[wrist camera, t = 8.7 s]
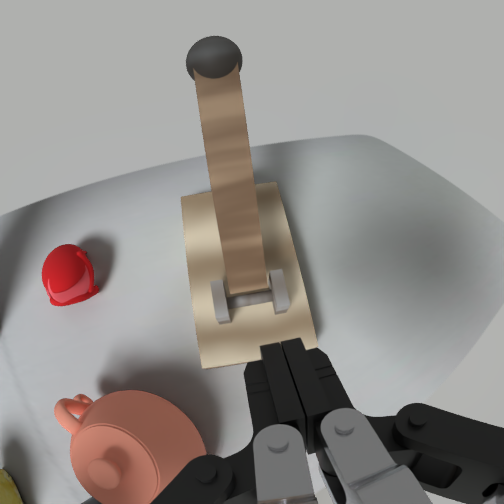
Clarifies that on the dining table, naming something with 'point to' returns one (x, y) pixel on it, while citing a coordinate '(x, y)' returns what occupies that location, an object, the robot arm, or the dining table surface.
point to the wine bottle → (91, 501)
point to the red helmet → (68, 276)
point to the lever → (229, 159)
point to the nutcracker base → (250, 302)
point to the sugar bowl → (127, 444)
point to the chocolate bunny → (8, 489)
